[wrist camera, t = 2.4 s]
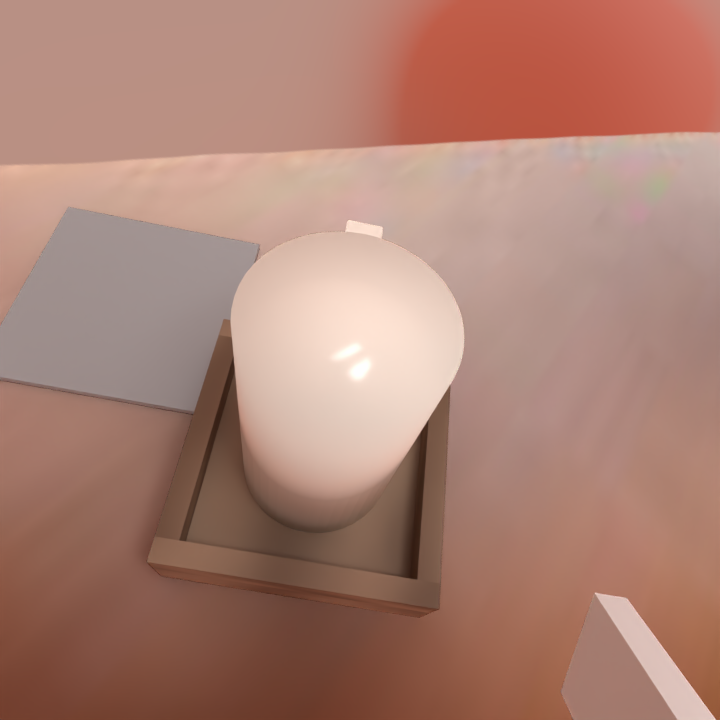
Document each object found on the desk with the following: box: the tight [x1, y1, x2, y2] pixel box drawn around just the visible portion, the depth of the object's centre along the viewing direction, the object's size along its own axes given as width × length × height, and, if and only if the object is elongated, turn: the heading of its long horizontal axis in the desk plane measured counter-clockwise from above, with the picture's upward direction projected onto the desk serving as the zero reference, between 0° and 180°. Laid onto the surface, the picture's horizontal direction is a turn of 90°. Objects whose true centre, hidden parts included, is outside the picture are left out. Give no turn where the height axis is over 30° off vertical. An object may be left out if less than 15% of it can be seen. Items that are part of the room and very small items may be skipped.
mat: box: [0, 207, 259, 414], centre depth 32 cm, size 12×12×1 cm
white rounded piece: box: [231, 220, 464, 533], centre depth 22 cm, size 7×10×12 cm
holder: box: [147, 319, 450, 618], centre depth 27 cm, size 12×12×4 cm
